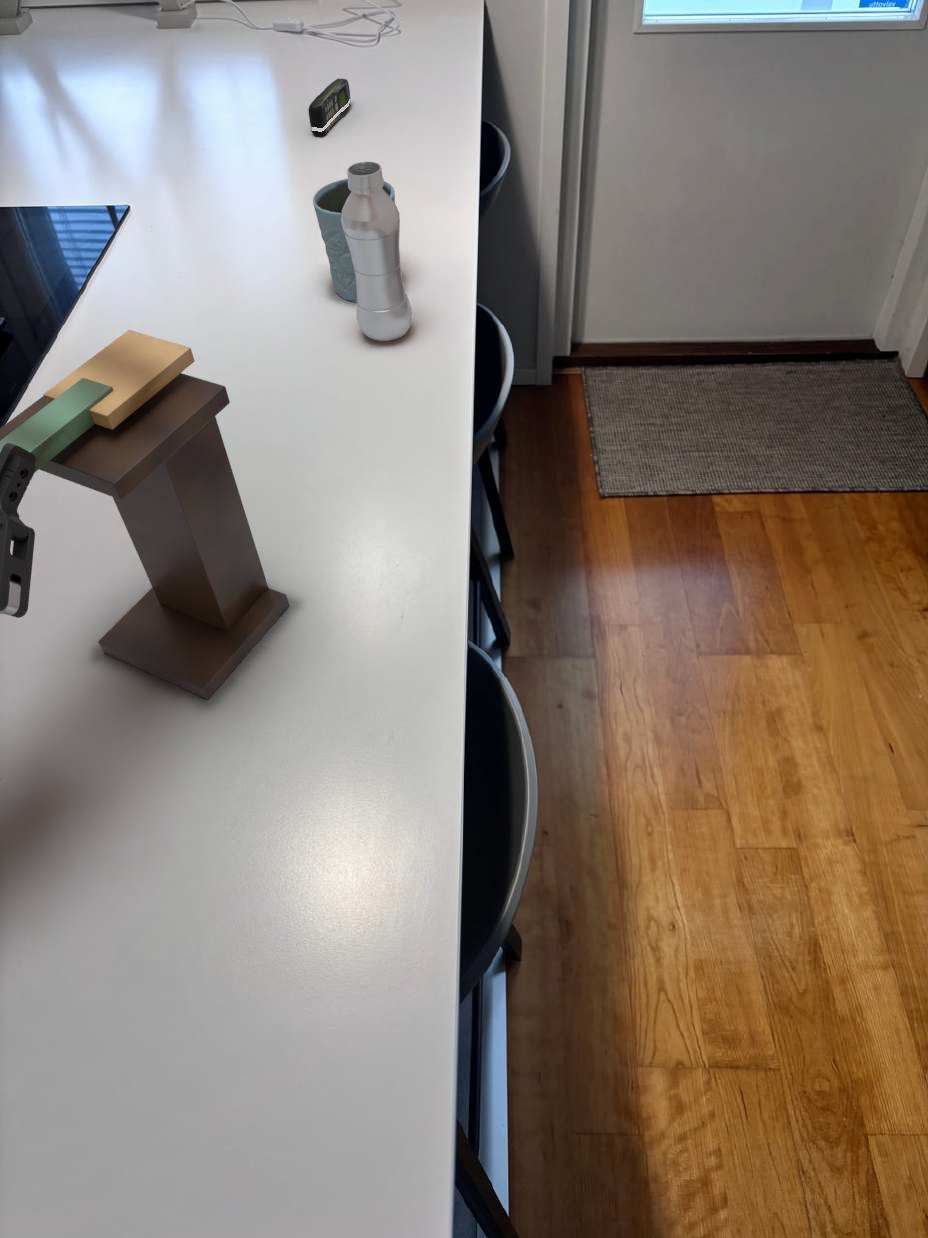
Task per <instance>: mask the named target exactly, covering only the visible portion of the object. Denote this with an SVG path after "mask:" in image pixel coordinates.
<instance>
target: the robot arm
mask: <svg viewBox="0 0 928 1238" xmlns="http://www.w3.org/2000/svg"><path fill="white" fill-rule="evenodd" d="M35 463H36V457H35V455H34V454H32V453H30V452H28V451H27V450H25V449H23V448H21V447H19V446H17V445H14V444H11V443H7V444H5V445H4V446H3V448H2V450H1V452H0V615H6V616H11V617H13V618H17V619H20V618H22V617H24V616H25V615H26V614H27V612H28V610H29V604H30V602H29V601H30V591H31V580H32V569H33V563H34V561H33V560H34V549H35V540H36V538H35V537H36V531H35V529H34V528H32V527H30V526H28V525H26V524H25V523H24V522H23V520H21V518H20V514H19V512H18V508H19V506H20V504H21V502H22V500H23V498H24V496H25V493H26V492H27V490H28V487H29V485H30V483H31V481H32V479H33V477H34V476H35V473H36V472H35V466H36V465H35ZM34 472H35V473H34ZM11 546H12V547H11ZM11 548H12V551H11ZM11 552H12V553H11Z"/></svg>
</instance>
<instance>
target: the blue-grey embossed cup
mask: <svg viewBox="0 0 928 1238" xmlns="http://www.w3.org/2000/svg"><path fill="white" fill-rule="evenodd" d="M382 189H383V190H384V191H385V192H386V193H387V194H388V195H389V196H390V198H391V199H392V200H393V202H394V203H395V204H396V195H395V189H394V187H393V185H392V184H390V183H389V182H387V181H385V180H384V186H383V187H382ZM350 193H351V190H349V188H348V178H344V179H340V180H336V181H333V182H330V183H328V184H326V185H324V186H322V187H321V188H320V189H319V190H317V191H316V192H315V194H314V195H313V198H312V204H313V208H314V212H315V215H316V219H317V223H318V227H319V229H320V230H319V231H320V235H321V236H320V237H321V238H322V241H323V243H324V245H325V246H324V247H325V253H326V256H327V257H328V258H327V260H328V263H329V269H330V270H329V271H330V276H331V279H332V283H333V287H334V290H335V293H336V294H337V296H338V297H340V298H342V299H344V300H346V301H349V302H352V303H357V288H356V276H355V271H354V265H353V262H352V257H351V253H350V249H349V246H348V243H347V240H346V237H345V234H344V230H343V227H342V223H341V214H342V209H343V207H344V204H345V202H346V200H347V198H348V197H349V195H350Z"/></svg>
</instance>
